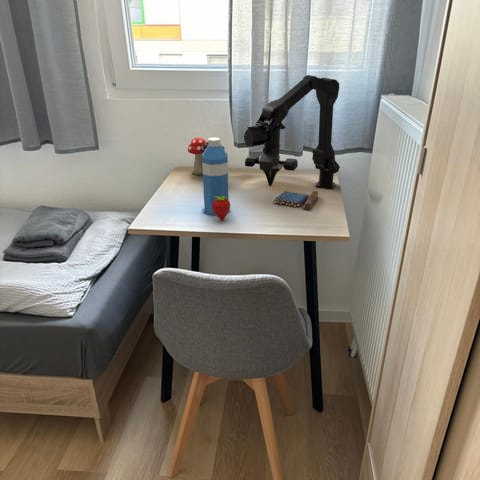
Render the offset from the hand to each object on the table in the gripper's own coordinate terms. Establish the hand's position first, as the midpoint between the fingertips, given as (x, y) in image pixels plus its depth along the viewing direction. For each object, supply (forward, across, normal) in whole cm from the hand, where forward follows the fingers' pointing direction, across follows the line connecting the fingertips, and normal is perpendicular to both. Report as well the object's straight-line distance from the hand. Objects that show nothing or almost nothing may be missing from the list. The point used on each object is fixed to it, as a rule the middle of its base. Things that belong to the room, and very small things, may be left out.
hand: (270, 185), depth 183 cm
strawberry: (+5, -10, -26) cm, 28 cm away
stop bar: (+5, +16, 0) cm, 17 cm away
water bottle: (+5, -15, -18) cm, 24 cm away
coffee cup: (+5, -29, +14) cm, 33 cm away
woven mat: (+5, +8, 0) cm, 10 cm away
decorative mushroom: (+5, -38, +21) cm, 44 cm away
